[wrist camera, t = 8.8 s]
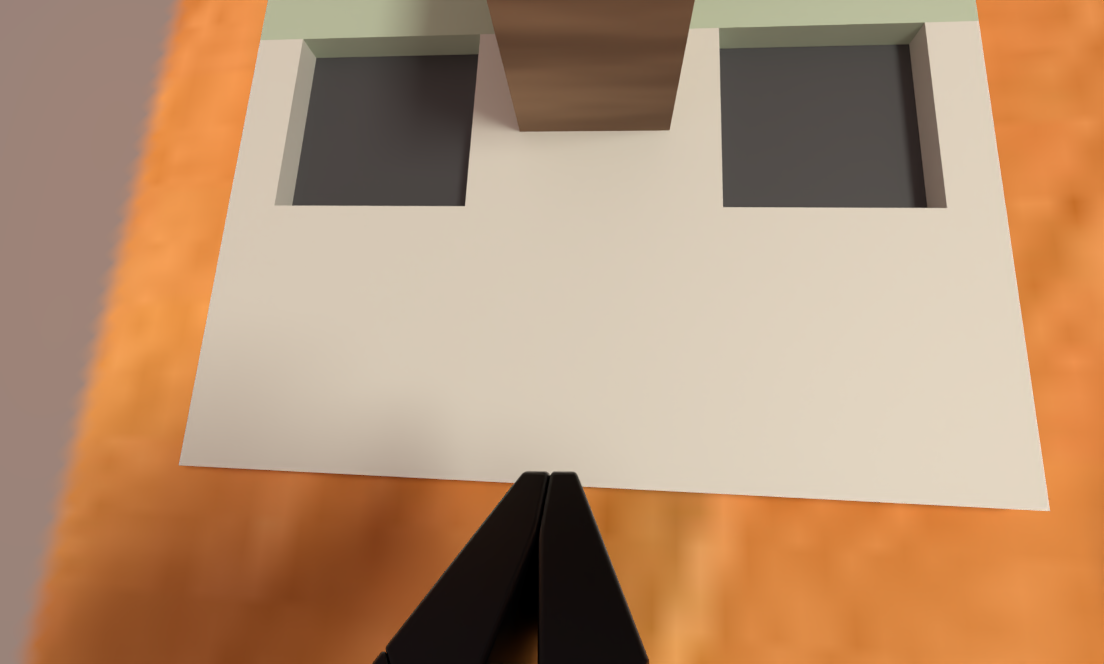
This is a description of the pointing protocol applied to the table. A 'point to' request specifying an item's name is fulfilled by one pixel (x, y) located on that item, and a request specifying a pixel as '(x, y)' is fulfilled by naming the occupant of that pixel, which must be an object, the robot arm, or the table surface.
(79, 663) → the table surface
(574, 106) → the brown wooden block
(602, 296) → the trap board
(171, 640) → the table surface
